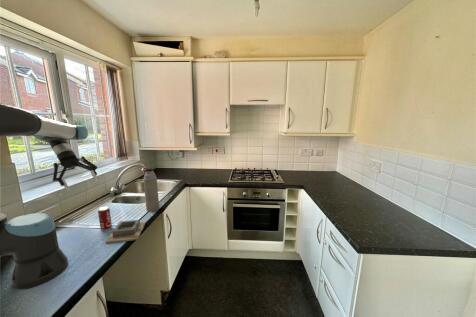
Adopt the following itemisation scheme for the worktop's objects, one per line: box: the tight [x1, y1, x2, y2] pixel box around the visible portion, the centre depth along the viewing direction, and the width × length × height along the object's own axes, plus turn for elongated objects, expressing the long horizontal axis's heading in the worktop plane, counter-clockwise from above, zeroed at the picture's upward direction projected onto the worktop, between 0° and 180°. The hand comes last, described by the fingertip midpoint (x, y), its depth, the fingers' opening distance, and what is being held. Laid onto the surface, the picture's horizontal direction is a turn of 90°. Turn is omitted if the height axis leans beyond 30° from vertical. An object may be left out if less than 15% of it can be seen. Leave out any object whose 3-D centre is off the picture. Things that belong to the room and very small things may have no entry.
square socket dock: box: [105, 219, 146, 244], centre depth 100 cm, size 16×14×4 cm
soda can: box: [97, 206, 113, 232], centre depth 103 cm, size 5×5×12 cm
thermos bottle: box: [143, 168, 160, 212], centre depth 125 cm, size 8×8×28 cm
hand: (83, 185), depth 105 cm, fingers open, 13 cm apart
